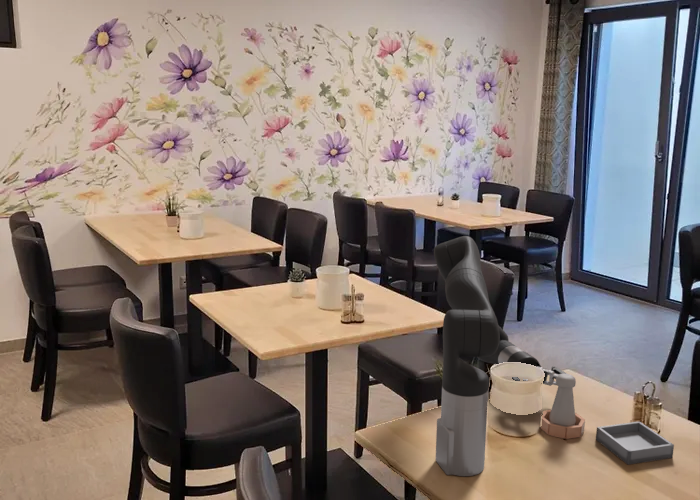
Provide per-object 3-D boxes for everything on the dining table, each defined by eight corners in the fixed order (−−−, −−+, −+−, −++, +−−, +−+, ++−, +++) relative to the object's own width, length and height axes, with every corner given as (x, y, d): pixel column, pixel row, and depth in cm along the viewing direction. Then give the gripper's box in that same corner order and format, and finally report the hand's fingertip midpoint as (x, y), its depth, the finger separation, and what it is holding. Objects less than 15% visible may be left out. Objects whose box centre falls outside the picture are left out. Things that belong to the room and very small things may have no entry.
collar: (554, 440, 151) (555, 430, 150) (533, 421, 159) (533, 411, 159) (591, 435, 153) (592, 425, 153) (568, 417, 162) (568, 407, 161)
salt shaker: (546, 430, 155) (550, 377, 152) (551, 420, 160) (555, 368, 157) (572, 436, 152) (577, 382, 150) (577, 426, 157) (581, 373, 155)
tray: (627, 464, 141) (629, 451, 140) (595, 439, 151) (596, 427, 151) (672, 457, 144) (674, 444, 143) (638, 433, 154) (639, 421, 153)
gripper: (494, 353, 172) (526, 378, 156) (544, 348, 175) (580, 372, 160) (492, 381, 173) (524, 408, 158) (542, 375, 177) (578, 401, 162)
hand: (552, 390), depth 159 cm, fingers open, 8 cm apart
